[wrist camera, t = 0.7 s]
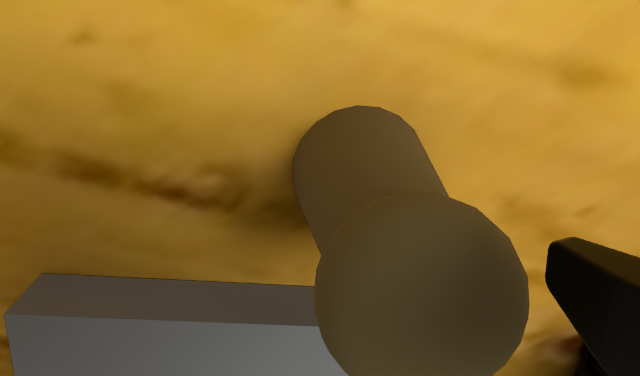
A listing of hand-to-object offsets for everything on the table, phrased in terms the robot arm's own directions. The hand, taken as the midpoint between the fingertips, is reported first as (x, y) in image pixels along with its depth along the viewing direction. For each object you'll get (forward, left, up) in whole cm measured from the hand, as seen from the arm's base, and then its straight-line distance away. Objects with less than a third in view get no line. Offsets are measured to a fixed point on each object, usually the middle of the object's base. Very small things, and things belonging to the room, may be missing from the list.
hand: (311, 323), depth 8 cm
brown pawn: (-3, +1, -12) cm, 13 cm away
